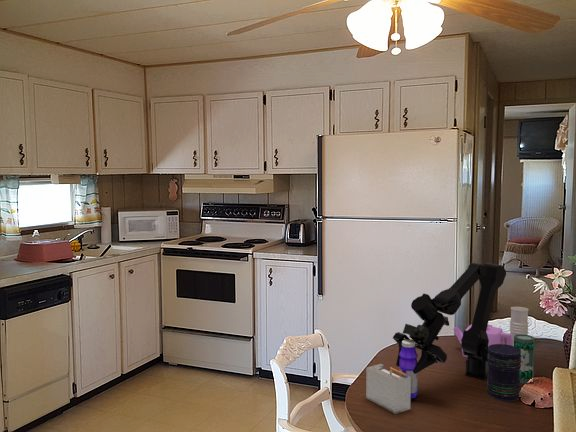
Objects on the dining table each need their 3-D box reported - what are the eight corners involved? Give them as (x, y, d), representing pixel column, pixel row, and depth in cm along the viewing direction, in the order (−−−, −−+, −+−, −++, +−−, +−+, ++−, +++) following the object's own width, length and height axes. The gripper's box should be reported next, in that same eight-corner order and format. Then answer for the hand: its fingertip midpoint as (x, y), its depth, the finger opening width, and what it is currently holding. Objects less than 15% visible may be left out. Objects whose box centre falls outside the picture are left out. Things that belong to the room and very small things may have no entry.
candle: (527, 343, 221) (528, 307, 219) (528, 348, 214) (529, 311, 213) (509, 341, 223) (510, 305, 222) (509, 346, 217) (510, 309, 215)
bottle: (418, 400, 166) (418, 345, 164) (399, 399, 167) (399, 344, 166) (417, 390, 173) (417, 337, 172) (399, 389, 174) (399, 337, 173)
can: (510, 380, 182) (512, 337, 181) (516, 375, 187) (517, 333, 186) (529, 385, 179) (531, 341, 177) (535, 379, 183) (536, 336, 182)
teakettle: (516, 361, 201) (517, 328, 200) (475, 365, 197) (476, 332, 196) (489, 346, 217) (490, 316, 216) (451, 350, 214) (451, 319, 212)
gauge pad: (384, 393, 171) (384, 362, 170) (409, 405, 162) (409, 373, 161) (380, 394, 170) (380, 363, 169) (404, 407, 161) (405, 374, 160)
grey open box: (380, 394, 173) (380, 362, 172) (410, 409, 162) (410, 376, 161) (366, 398, 170) (366, 366, 169) (395, 414, 159) (395, 380, 158)
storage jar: (526, 400, 167) (528, 353, 166) (497, 402, 166) (498, 355, 164) (508, 387, 177) (509, 343, 176) (480, 389, 176) (481, 344, 174)
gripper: (396, 307, 178) (371, 347, 173) (440, 321, 162) (414, 364, 157) (413, 327, 183) (389, 365, 178) (458, 341, 167) (433, 384, 162)
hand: (405, 369), depth 169 cm, fingers closed on bottle, 7 cm apart
